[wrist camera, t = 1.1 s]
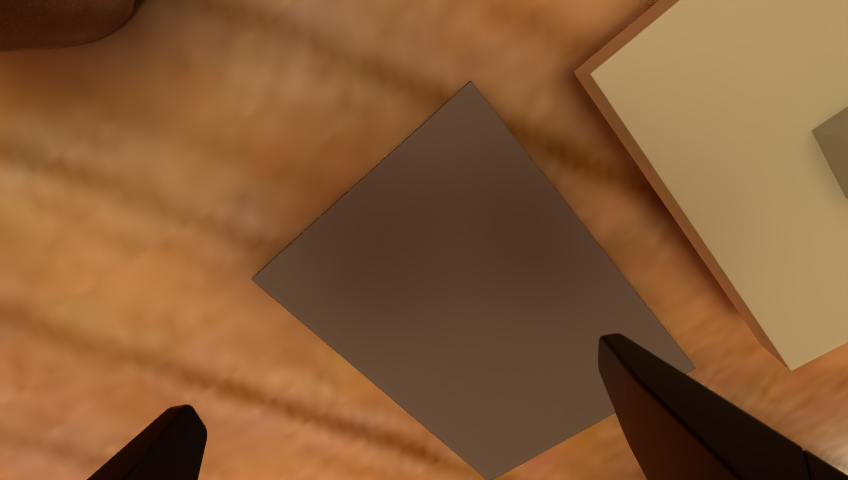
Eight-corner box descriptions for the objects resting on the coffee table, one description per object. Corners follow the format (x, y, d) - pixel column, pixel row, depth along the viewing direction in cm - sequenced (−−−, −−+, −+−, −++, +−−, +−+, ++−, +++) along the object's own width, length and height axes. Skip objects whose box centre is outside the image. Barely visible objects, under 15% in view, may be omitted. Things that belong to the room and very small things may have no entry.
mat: (693, 365, 26) (695, 368, 26) (488, 477, 30) (489, 481, 30) (470, 80, 19) (471, 80, 19) (253, 276, 24) (251, 279, 24)
